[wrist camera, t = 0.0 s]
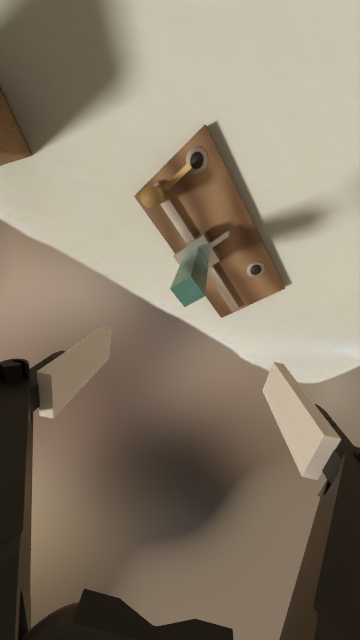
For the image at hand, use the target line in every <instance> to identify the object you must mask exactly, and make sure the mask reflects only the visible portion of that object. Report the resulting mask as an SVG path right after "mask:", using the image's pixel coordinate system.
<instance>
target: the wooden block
mask: <svg viewBox="0 0 360 640" xmlns="http://www.w3.org/2000/svg"><path fill="white" fill-rule="evenodd" d="M30 155H31V153H30V150H29V148H28V146H27V144H26V142H25V140H24V138H23V136H22V133H21V131H20V129H19V127H18V125H17V123H16V121H15V119H14V116H13V114H12V112H11V110H10V108H9V106H8V104H7V102H6V99H5V97H4V95H3V93H2V91H1V89H0V165H3V164H6V163H9V162H12V161H16V160H19V159H22V158H25V157H29V156H30Z"/></svg>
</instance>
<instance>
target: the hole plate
mask: <svg viewBox="0 0 360 640" xmlns="http://www.w3.org/2000/svg"><path fill="white" fill-rule="evenodd" d="M134 197H135V198H136V200H137V201H138V202H139V204H140V205H141V207H142V208H143V209H144V211H145V212H146V213H147V215H148V216H149V218H150V219H151V220H152V222H153V223H154V225H155V226H156V227H157V229H158V230H159V232H160V233H161V234H162V236H163V237H164V239H165V240H166V241H167V243H168V244H169V246H170V247H171V248H172V250H173V251H174V253H176V251H177V250H178V249H180V248H181V247H182V246H184V245H185V244H187V243H188V242H189V241H191V240H192V239H193V238H195V237H196V236H198V235H199V234H200V233H202V232H203V231H205V232H206V234H207V236H208V237H209V239H210V241H213V240H214V239H216V238H217V237H219V236H220V235H222V234H223V233H225V230H226V229H229V230H230V235H229V237H227V238H226V239H224V240H223V241H221V242H220V243H218V244H217V245H215V246H214V247H215V249H216V250H217V252H218V254H219V255H220V261H219V262H217V263H216V264H214V265H213V266H211V267H209V268H208V273H207V282H206V292H205V296H206V297H207V299H208V300H209V301H210V303H211V304H212V306H213V307H214V308H215V310H216V311H217V313H218V314H219V315H220V317H221V318H222V317H224V316H227V315H229V314H231V313H233V312H235V311H237V310H240V309H242V308H244V307H246V306H248V305H250V304H253V303H255V302H257V301H259V300H261V299H263V298H265V297H268V296H270V295H272V294H274V293H276V292H278V291H281V290H283V289H285V287H284V285H283V283H282V281H281V279H280V277H279V275H278V273H277V271H276V269H275V267H274V265H273V263H272V261H271V259H270V256H269V254H268V252H267V250H266V248H265V246H264V244H263V242H262V240H261V238H260V236H259V234H258V232H257V230H256V228H255V226H254V224H253V222H252V220H251V217H250V215H249V213H248V211H247V209H246V207H245V205H244V203H243V201H242V199H241V197H240V195H239V193H238V191H237V189H236V187H235V185H234V183H233V181H232V178H231V176H230V174H229V172H228V170H227V168H226V166H225V164H224V162H223V160H222V158H221V156H220V154H219V152H218V150H217V148H216V146H215V144H214V141H213V139H212V137H211V135H210V133H209V131H208V129H207V127H206V125H204V126H203V127H202V128H201V129H200V130H199V131H198V132H197V133H196V134H195V135H194V136H193V137H192V138H191V139H190V140H189V141H188V142H187V143H186V144H185V145H184V146H183V147H182V148H181V149H180V150H179V151H178V152H177V153H176V154H175V155H174V156H173V157H172V158H171V159H170V160H169V161H168V162H167V164H166V165H165V166H164V167H163V168H162V169H161V170H160V171H159V172H158V173H157V174H156V175H155V176H154V177H153V178H152V179H151V180H150V181H149V182H148V183H147V184H146V185H145V186H144V187H143V188H142V189H141V190H140V191H139V192H138V193H137V194H136V195H135V196H134Z"/></svg>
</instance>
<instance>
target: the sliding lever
mask: <svg viewBox="0 0 360 640" xmlns="http://www.w3.org/2000/svg"><path fill="white" fill-rule="evenodd" d="M229 235H230V230H229V229H226V230H225V233H223V234H222V235H220V236H219V237H217V238H216V239H214V240H213V241H210V239H209V237H208V236H207V234H206V232H205V231H203V232H202V233H200V234H199V235H198V236H196V237H195V238H193V239H192V240H191V241H189V242H188V243H187V244H185V245H184V246H182V247H181V248H180V249H178V250H177V251H176V253H175V254H174V258H175V259H176V260H177V262H178V263H179V265H180V267H179V269H178V271H177V274H176V276H175V279H174V281H173V283H172V286H171V288H170V289H171V291H172V292H173V293H174V294H175V296H176V297H177V298H178V299H179V301H180V302H181V303H182V304H183V306H184V307H186V306H188V305H190V304H191V303H193V302H195V301H197V300H199V299H201V298H202V297H204V296H205V292H206V282H207V273H208V268H209V267H211V266H213V265H214V264H216V263H217V262H219V261H220V255H219V254H218V252H217V250H216V249H215V247H214V246H215V245H217V244H218V243H220V242H221V241H223V240H224V239H226V238H227V237H229Z"/></svg>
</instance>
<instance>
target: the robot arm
mask: <svg viewBox="0 0 360 640" xmlns="http://www.w3.org/2000/svg"><path fill="white" fill-rule="evenodd" d="M110 339H111V328H107V327H101V328H99V329H98V330H96V331H95V332H93V333H92V334H91V335H89V336H88V337H86V338H85V339H84V340H82V341H80V342H79V343H78V344H76V345H75V346H73V347H72V348H70V349H69V350H68V351H59V352H56V353H54V354H52V355H50V356H49V357H47V359H44V360H43V361H42V362H40V363H38V364H37V365H35V366H34V367H32V368H31V369H29V363H28V361H26V360H24V359H10V360H5V361H3V362H0V640H233V630H232V629H230V628H227V627H223V626H219V625H216V624H212V623H209V622H205V621H201V620H198V619H192V620H187V621H182V622H177V623H172V624H167V625H163V626H153V625H152V624H150V623H149V622H148V621H147V620H145V619H144V618H143V617H142V616H140V615H139V614H138V613H137V612H136V611H134V610H133V609H132V608H131V607H129V606H128V605H127V604H126V603H125V602H123V601H122V600H121V599H120V598H117V597H113V596H109V595H106V594H102V593H98V592H95V591H91V590H87V589H84V591H83V593H82V596H81V599H80V602H78V603H72V604H70V605H67V606H64V607H62V608H60V609H58V610H56V611H54V612H53V613H51V614H49V615H48V616H47V617H45V618H44V619H42V620H41V621H40V622H38V623H37V624H36V625H35V626H34V627H33V628H31V597H30V559H31V557H30V556H31V507H32V506H31V505H32V454H33V450H32V449H33V412H34V411H35V410H36V409H37V408H38V407H39V413H40V416H45V417H48V418H54V417H55V416H56V415H57V414H58V413H59V412H60V411H61V410H62V409H63V407H64V406H65V405H66V404H67V403H68V402H69V401H70V400H71V399H72V398H73V397H74V396H75V395H76V394H77V392H78V391H79V390H80V389H81V388H82V387H83V386H84V385H85V384H86V383H87V382H88V380H89V379H90V378H91V377H92V376H93V375H94V374H95V373H96V372H97V371H98V370H99V369H100V368H101V366H102V365H103V364H104V363H105V362H106V361H107V360H108V359H109V355H110ZM263 393H264V395H265V397H266V399H267V401H268V403H269V406H270V408H271V410H272V412H273V414H274V417H275V419H276V421H277V423H278V425H279V428H280V430H281V432H282V434H283V436H284V438H285V440H286V443H287V445H288V447H289V449H290V452H291V454H292V456H293V458H294V460H295V462H296V465H297V467H298V469H299V471H300V473H301V475H302V476H303V477H307V478H311V479H315V480H318V478H319V476H320V475H321V473H322V471H323V473H324V475H325V476H326V478H327V481H326V483H325V484H324V486H323V488H322V490H321V491H320V493H319V494H318V496H320V497H321V498H320V501H319V505H318V508H317V512H316V515H315V519H314V522H313V525H312V529H311V533H310V536H309V539H308V543H307V546H306V550H305V553H304V557H303V561H302V563H301V567H300V571H299V574H298V577H297V581H296V584H295V588H294V591H293V595H292V598H291V602H290V605H289V608H288V612H287V615H286V619H285V623H284V626H283V629H282V633H281V636H280V640H360V448H359V447H355V446H353V444H352V443H351V442H350V441H349V440H348V438H347V437H346V436H345V434H344V433H343V432H342V431H341V430H340V429H339V427H338V426H337V425H336V423H335V422H334V421H333V420H332V419H331V417H330V416H329V415H328V414H327V412H326V411H325V410H323V409H322V408H321V407H320V406H318V405H316V404H314V403H313V402H312V400H311V399H310V398H309V397H308V395H307V394H306V393H305V391H304V390H303V389H302V388H301V386H300V385H299V384H298V382H297V381H296V380H295V378H294V377H293V376H292V375H291V373H290V372H289V371H288V369H287V368H286V367H285V366H284V364H281V363H276V362H273V365H272V367H271V370H270V373H269V375H268V378H267V381H266V383H265V386H264V389H263Z"/></svg>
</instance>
